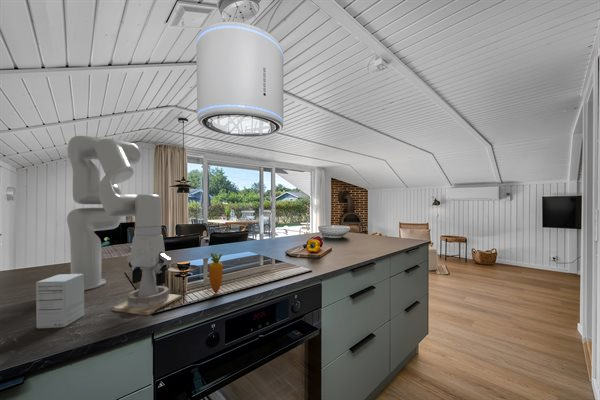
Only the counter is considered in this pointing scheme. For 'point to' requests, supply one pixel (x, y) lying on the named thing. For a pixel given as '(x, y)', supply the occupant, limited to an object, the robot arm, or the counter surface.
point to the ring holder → (146, 302)
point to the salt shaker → (148, 283)
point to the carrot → (215, 272)
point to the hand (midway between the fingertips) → (148, 283)
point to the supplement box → (59, 300)
